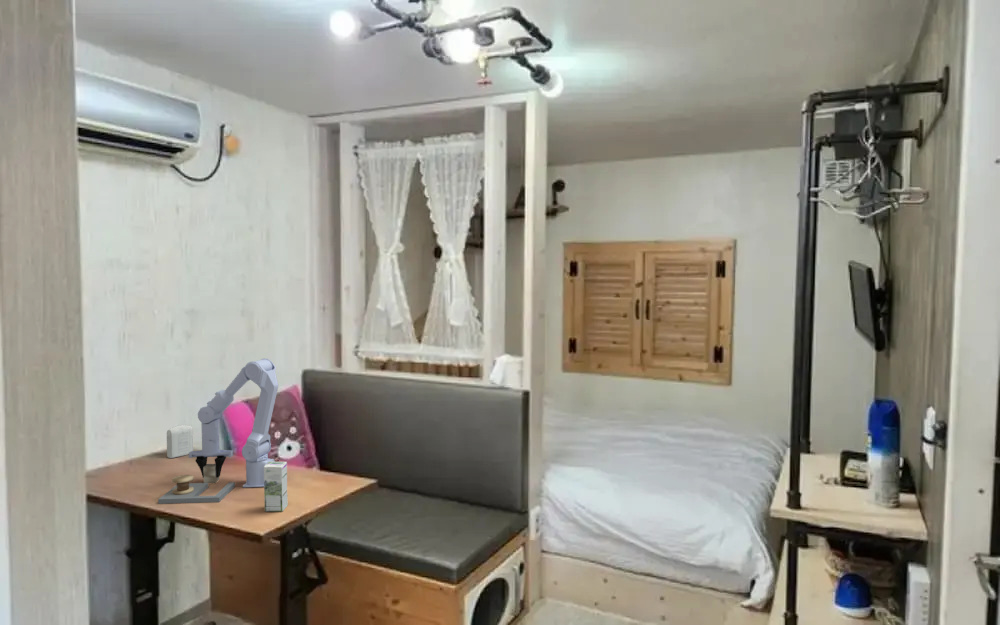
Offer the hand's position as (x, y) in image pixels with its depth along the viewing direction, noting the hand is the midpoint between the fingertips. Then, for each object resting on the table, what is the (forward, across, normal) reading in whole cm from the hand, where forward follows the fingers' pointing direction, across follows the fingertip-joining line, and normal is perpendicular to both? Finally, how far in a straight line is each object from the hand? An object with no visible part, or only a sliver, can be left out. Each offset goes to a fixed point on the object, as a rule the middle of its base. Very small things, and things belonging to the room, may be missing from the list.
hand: (211, 476), depth 231 cm
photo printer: (+2, +25, -37) cm, 45 cm away
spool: (0, +4, +15) cm, 16 cm away
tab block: (+2, 0, 0) cm, 2 cm away
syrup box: (+2, -30, +30) cm, 42 cm away
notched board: (+2, 0, +14) cm, 14 cm away
